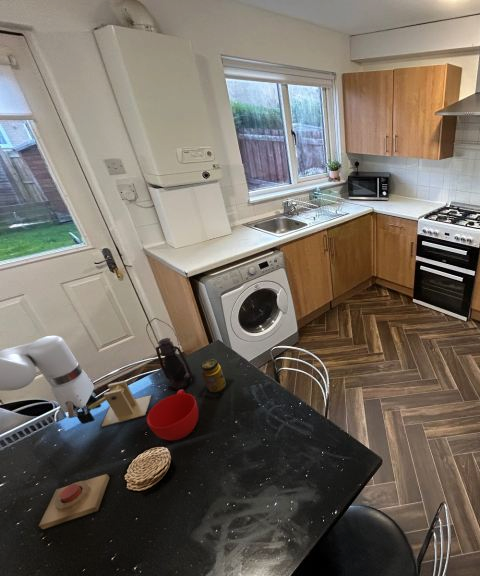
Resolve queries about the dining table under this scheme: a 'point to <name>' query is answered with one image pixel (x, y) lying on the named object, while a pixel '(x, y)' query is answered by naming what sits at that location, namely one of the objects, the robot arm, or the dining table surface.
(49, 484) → the dining table surface
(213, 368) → the condiment
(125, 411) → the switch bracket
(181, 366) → the lantern
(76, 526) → the dining table surface
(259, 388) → the dining table surface
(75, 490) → the button
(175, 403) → the ceramic cup
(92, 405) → the lever
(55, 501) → the button block
